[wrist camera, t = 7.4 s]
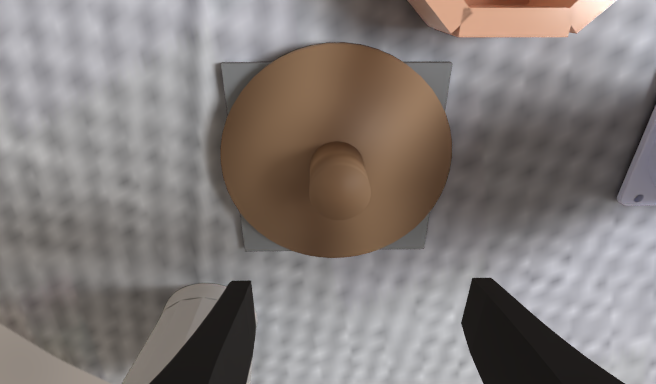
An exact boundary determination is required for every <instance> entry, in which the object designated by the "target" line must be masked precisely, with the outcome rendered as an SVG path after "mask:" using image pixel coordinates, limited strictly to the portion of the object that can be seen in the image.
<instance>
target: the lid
mask: <svg viewBox="0 0 656 384" xmlns="http://www.w3.org/2000/svg"><path fill="white" fill-rule="evenodd" d="M451 158H452V140H451V132H450V127H449V123H448V120H447V116H446V114H445V111H444V109H443V107H442V105H441V103H440V101H439V99H438V98H437V96H436V94H435V93H434V91H433V90H432V88H431V87H430V86H429V85H428V84H427V83H426V82H425V80H424V79H423V78H422V77H421V76H420V75H419V74H417V73H416V72H415V71H414V70H413V69H411V68H410V67H409V66H408V65H407V64H405V63H404V62H402V61H401V60H399V59H397V58H396V57H394V56H392V55H390V54H388V53H386V52H383V51H381V50H379V49H376V48H372V47H369V46H365V45H361V44H353V43H345V42H339V43H322V44H316V45H310V46H307V47H304V48H301V49H297V50H294V51H292V52H290V53H288V54H286V55H284V56H281V57H279V58H278V59H276V60H275V61H273V62H272V63H270V64H269V65H267V66H266V67H264V68H263V69H262V70H261V71H260V72H259V73H258V74H256V75H255V76H254V77H253V78H252V79H251V81H250V82H249V83H248V84H247V85H246V87H245V88H244V89H243V90H242V92H241V93H240V95H239V96H238V98H237V99H236V101H235V103H234V104H233V106H232V108H231V110H230V112H229V115H228V117H227V119H226V123H225V126H224V130H223V133H222V141H221V167H222V173H223V178H224V181H225V184H226V187H227V190H228V192H229V194H230V196H231V198H232V201H233V202H234V204H235V205H236V207H237V209H238V210H239V212H240V213H241V214H242V215H243V217H244V218H245V219H246V220H247V221H248V223H249V224H251V225H252V226H253V227H254V228H255V229H256V230H257V231H258V232H259V233H261V234H262V235H264V236H265V237H266V238H268V239H269V240H271V241H273V242H275V243H276V244H278V245H280V246H282V247H285V248H287V249H289V250H292V251H295V252H298V253H302V254H305V255H310V256H316V257H327V258H341V257H351V256H357V255H362V254H366V253H370V252H373V251H375V250H378V249H381V248H383V247H385V246H387V245H390V244H392V243H394V242H395V241H397V240H399V239H400V238H402V237H403V236H405V235H406V234H408V233H409V232H410V231H411V230H413V229H414V228H415V227H416V226H417V225H418V224H419V223H420V222H421V221H422V220H423V219H424V218H425V217H426V216H427V215H428V213H429V212H430V211H431V209H432V208H433V207H434V205H435V204H436V202H437V200H438V199H439V197H440V195H441V193H442V191H443V188H444V186H445V184H446V181H447V177H448V174H449V171H450V165H451Z"/></svg>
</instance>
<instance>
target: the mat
mask: <svg viewBox="0 0 656 384" xmlns="http://www.w3.org/2000/svg"><path fill="white" fill-rule="evenodd" d="M270 63H272V62H223V63H221V69H222V77H223V84H224V92H225V100H226V108H227V115H229V112H230V110H231V108H232V106H233V104H234V103H235V101H236V99H237V98H238V96H239V95H240V93H241V92H242V90H243V89H244V88H245V87H246V85H247V84H248V83H249V82H250V81H251V79H252V78H253V77H254V76H255V75H256V74H258V73H259V72H260V71H261V70H262V69H263V68H264V67H266V66H267V65H269V64H270ZM404 63H405V64H407V65H408V66H409V67H410V68H411V69H413V70H414V71H415V72H416V73H417V74H419V75H420V76H421V77H422V78H423V79H424V80H425V82H426V83H427V84H428V85H429V86H430V87H431V88H432V90H433V91H434V93H435V94H436V96H437V98H438V99H439V101H440V103H441V105H442V107H443V109H444V111H445V108H446V101H447V95H448V88H449V82H450V75H451V69H452V63H451V62H404ZM429 213H430V212H429ZM429 213H428V215H427V216H426V217H425V218H424V219H423V220H422V221H421V222H420V223H419V224H418V225H417V226H416V227H415V228H414V229H413V230H411V231H410V232H409V233H408V234H406V235H405V236H403V237H402V238H400V239H399V240H397V241H395V242H394V243H392V244H390V245H387V246H385V247H383V248H381V249H424V245H425V239H426V232H427V226H428V219H429ZM240 216H241V224H242V232H243V239H244V247H245V252H252V251H292V250H289V249H287V248H285V247H282V246H280V245H278V244H276V243H275V242H273V241H271V240H269V239H268V238H266V237H265V236H264V235H262V234H261V233H259V232H258V231H257V230H256V229H255V228H254V227H253V226H252V225H251V224H249V223H248V221H247V220H246V219H245V218H244V217H243V215H242V214H241V213H240Z"/></svg>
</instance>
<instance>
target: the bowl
mask: <svg viewBox="0 0 656 384" xmlns="http://www.w3.org/2000/svg"><path fill="white" fill-rule="evenodd" d="M407 1H408V2H409V3H410V4H411V5H412V7H413V8H414V9H415V10H416V12H417V13H418V14H419V16H420V17H421V18H422V19H423V21H424V22H425V23H426V24H427V26H429V27H432V28H434V29H435V30H438V31H441V32H444V33H447V34H450V35H453V36H456V37H568V34H569V32H570V33H576V34H577V33H578V32H579V31H580V30H582V29H583V28H584V27H585V26H586V25H588V24H589V23H590V22H591V21H592V20H594V19H595V18H596V17H597V16H598V15H600V14H601V13H602V12H603V11H604V10H606V9H607V8H608V7H609V6H610V5H612V4H613V3H614V2H615V1H616V0H407Z"/></svg>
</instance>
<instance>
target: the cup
mask: <svg viewBox="0 0 656 384" xmlns="http://www.w3.org/2000/svg"><path fill="white" fill-rule="evenodd" d="M225 289H226V286H223V285H218V284H211V283H201V284H194V285H190V286H186V287H184V288H182V289H180V290H178V291H177V292H175V293H174V294H173V295H172V296H171V297H170V298H169V300H168V302H167V304H166V306H165V308H164V310H163V312H162V314H161V316H160V318H159V321H158V323H157V324H156V326H155V328H154V330H153V331H152V333H151V335H150V336H149V338H148V340H147V341H146V343H145V345H144V347H143V348H142V350H141V352H140V353H139V355H138V357H137V359H136V360H135V362H134V364H133V365H132V367H131V369H130V370H129V372H128V374H127V376H126V377H125V379H124V381H123V382H122V384H149V383H150V382H151V381H152V380H153V379H154V378H155V377H156V376H157V375H158V374H159V373H160V372H161V371H162V370H163V369H164V367H165V366H166V365H167V364H168V363H169V362H170V361H171V360H172V359H173V357H174V356H175V355H176V354H177V353H178V352H179V350H180V349H181V348H182V347H183V346H184V344H185V343H186V342H187V341H188V340H189V338H190V337H191V336H192V335H193V333H194V332H195V331H196V330H197V328H198V327H199V326H200V324H201V323H202V322H203V320H204V319H205V318H206V316H207V315H208V314H209V312H210V311H211V309H212V308H213V307H214V305H215V304H216V302H217V301H218V299H219V298H220V296H221V295H222V293H223V292H224V290H225ZM254 311H255V320H256V327H257V313H256V310H255V308H254ZM252 358H253V357H252ZM251 369H252V361H251V366H250V370H249V374H248V379H247V383H246V384H250V381H251Z"/></svg>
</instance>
